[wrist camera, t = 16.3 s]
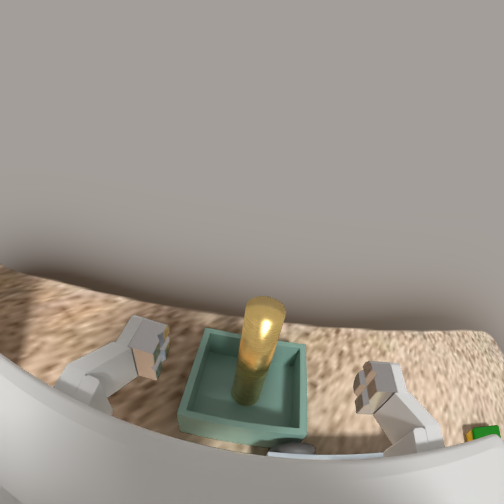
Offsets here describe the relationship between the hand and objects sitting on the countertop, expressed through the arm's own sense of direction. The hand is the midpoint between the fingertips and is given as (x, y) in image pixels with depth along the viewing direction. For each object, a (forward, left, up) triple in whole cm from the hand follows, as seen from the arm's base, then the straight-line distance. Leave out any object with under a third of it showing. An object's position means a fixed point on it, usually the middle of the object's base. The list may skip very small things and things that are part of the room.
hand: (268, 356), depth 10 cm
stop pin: (0, +12, -23) cm, 26 cm away
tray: (0, +12, -24) cm, 27 cm away
